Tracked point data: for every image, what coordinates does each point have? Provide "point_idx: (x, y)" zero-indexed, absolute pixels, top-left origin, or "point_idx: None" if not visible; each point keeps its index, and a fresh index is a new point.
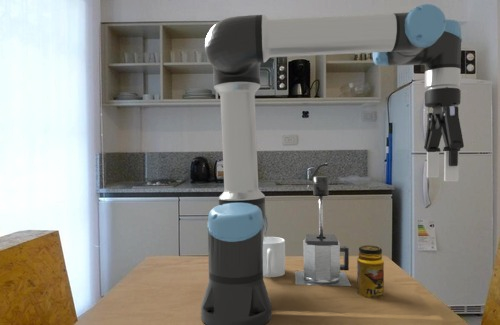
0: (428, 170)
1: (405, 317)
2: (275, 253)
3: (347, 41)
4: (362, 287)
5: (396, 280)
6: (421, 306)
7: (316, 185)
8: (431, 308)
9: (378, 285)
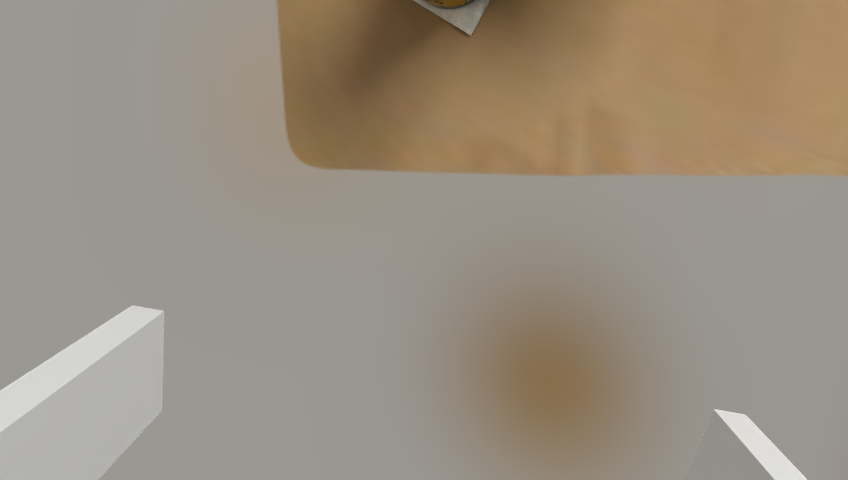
0: (759, 474)
1: (297, 23)
2: None
3: None
4: None
5: (599, 116)
6: (373, 105)
7: None
8: (360, 128)
9: None
